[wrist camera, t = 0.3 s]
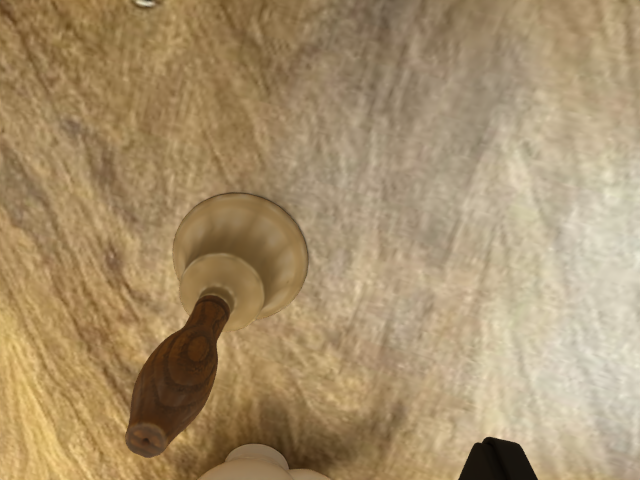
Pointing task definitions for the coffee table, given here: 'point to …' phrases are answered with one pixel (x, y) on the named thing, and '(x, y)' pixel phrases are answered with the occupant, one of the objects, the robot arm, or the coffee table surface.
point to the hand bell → (214, 306)
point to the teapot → (258, 466)
